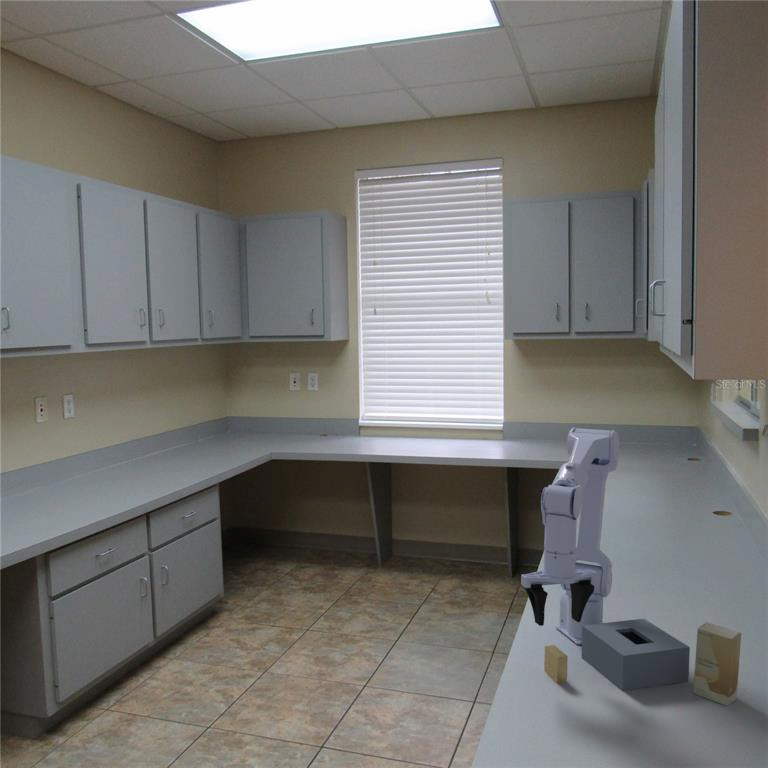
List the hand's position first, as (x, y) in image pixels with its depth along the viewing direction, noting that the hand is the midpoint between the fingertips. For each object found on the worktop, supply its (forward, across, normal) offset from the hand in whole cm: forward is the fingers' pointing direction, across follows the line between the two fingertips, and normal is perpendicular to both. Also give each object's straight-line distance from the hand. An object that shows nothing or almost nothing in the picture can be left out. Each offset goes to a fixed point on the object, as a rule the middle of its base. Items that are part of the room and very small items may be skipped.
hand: (557, 622), depth 137 cm
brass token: (+11, 0, 0) cm, 11 cm away
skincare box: (+11, +24, -14) cm, 30 cm away
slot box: (+10, +16, -1) cm, 19 cm away
